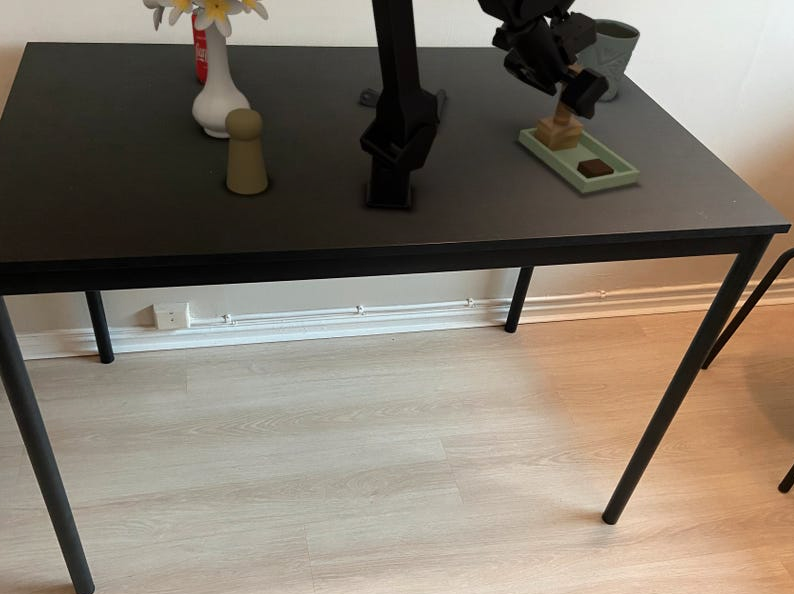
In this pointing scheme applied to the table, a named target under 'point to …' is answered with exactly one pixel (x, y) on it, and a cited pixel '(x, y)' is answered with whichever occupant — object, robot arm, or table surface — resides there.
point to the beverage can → (200, 49)
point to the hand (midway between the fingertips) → (572, 105)
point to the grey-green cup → (610, 52)
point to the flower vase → (212, 56)
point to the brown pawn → (245, 152)
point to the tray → (585, 150)
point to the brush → (560, 126)
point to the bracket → (375, 95)
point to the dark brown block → (594, 168)
